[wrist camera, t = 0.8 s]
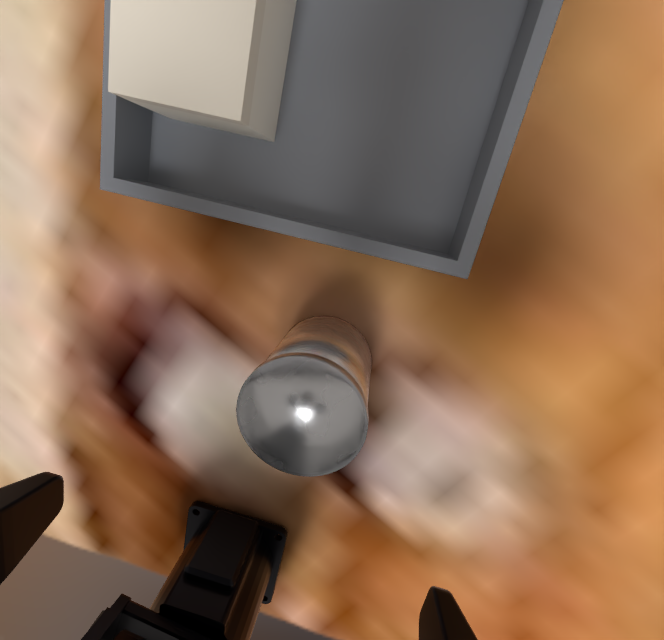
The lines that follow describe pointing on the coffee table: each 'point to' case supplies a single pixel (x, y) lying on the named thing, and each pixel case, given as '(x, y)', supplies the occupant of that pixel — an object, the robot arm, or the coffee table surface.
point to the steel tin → (309, 399)
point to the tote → (357, 130)
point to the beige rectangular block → (203, 60)
